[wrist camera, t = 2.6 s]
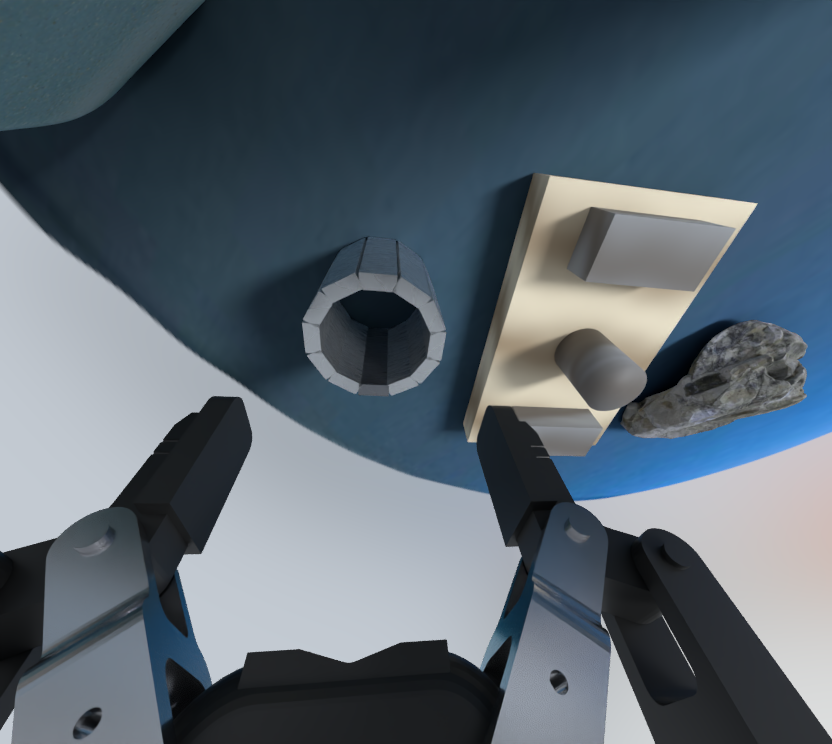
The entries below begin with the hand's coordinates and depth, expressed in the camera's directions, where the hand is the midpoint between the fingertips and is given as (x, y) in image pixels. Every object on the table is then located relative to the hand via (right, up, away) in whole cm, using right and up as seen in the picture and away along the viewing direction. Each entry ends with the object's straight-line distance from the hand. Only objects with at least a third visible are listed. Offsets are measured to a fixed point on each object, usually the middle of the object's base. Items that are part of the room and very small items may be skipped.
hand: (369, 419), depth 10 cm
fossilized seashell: (+24, +1, +15) cm, 28 cm away
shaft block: (+12, +4, +11) cm, 17 cm away
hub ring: (-1, +7, +8) cm, 11 cm away
